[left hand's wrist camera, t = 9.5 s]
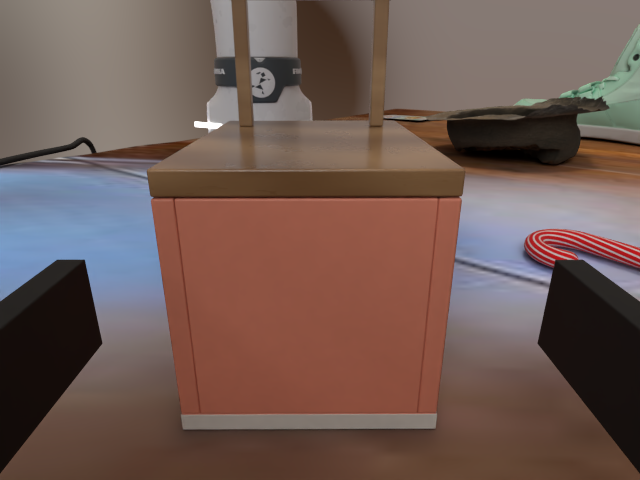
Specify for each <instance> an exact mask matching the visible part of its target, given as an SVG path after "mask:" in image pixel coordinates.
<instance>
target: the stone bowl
mask: <svg viewBox="0 0 640 480" xmlns="http://www.w3.org/2000/svg"><path fill="white" fill-rule="evenodd" d="M602 97H603V96H601V97H599V98H597V99H596V100H595V98H593V99H590V98H586V97H583V98H582V99H581V97H576V96H575V97H574V98H572V97H570V98H568V97H564V98H557V99H549V100H547V101H544V102H537V103H535V104H533V105H531V106H524V105H514V106H505V107H503V106H499V107H487V108H481V109H467V110H457V111H449V112H443V113H439V114H436V115H431V116H427V117H426V120H430V121H439V120H447V131H448V135H449V138H450V140H451V142H452V143H453V145H454V147H455V149H456V150H457V151H461V150H462V149H464V150H465V151H481V150H483V151H490V150H503V149H505V148H508V147H510V148H513V149H520V150H522V151H523V152H524V153H525V154H530V155H532V157H534V158H538V159H539V160H540V161H541V162H542V163H548V164H559V163H561V162H564V161H566V160H568V159H569V158H572V157H574V156H575V154H576V153H577V151H578V148H579V145H580V139H581V135H580V129H579V127H578V125H577V115H578V114H583V113H590V112H597V111H605V110H607V109H610V108H609V106H608V105H606V101H603V100H604V98H603V99H602Z"/></svg>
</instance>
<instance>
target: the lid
mask: <svg viewBox="0 0 640 480" xmlns="http://www.w3.org/2000/svg"><path fill="white" fill-rule="evenodd" d="M231 5H232V20H233V36H234V51H235V67H236V82H237V97H238V113H239V121H228V122H227V123H225V124H223V125H222V126H220V127H218V128H217V129H215V130H213V131H212V132H210V133H208V134H207V135H205V136H203V137H202V138H200V139H198V140H196V141H195V142H193V143H191V144H190V145H188V146H186V147H185V148H183V149H181V150H180V151H178V152H176V153H175V154H173V155H171V156H170V157H168V158H166V159H165V160H163V161H161V162H159V163H158V164H156V165H154V166H153V167H151V168H149V169H148V170H147V176H148V183H149V190H150V195H151V196H152V197H460V196H462V194H463V186H464V178H465V169H464V168H462V167H461V166H459V165H458V164H456V163H455V162H453V161H452V160H451V159H449V158H448V157H446V156H445V155H443V154H442V153H440V152H439V151H438V150H436V149H435V148H433V147H432V146H430V145H429V144H427V143H426V142H425V141H423V140H422V139H420V138H419V137H417V136H416V135H414V134H413V133H411V132H410V131H409V130H407V129H406V128H404V127H403V126H401V125H400V124H398V123H397V122H396V121H383V117H384V96H385V77H386V57H387V37H388V16H389V0H374V2H373V28H372V54H371V80H370V106H369V121H254V115H253V96H252V77H251V59H250V40H249V21H248V2H247V0H231Z"/></svg>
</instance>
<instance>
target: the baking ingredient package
mask: <svg viewBox="0 0 640 480" xmlns="http://www.w3.org/2000/svg"><path fill="white" fill-rule="evenodd" d="M383 118H391V119H406V120H426V117H417V116H401V115H387V116H384V117H383Z"/></svg>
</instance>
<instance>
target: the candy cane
mask: <svg viewBox="0 0 640 480" xmlns="http://www.w3.org/2000/svg"><path fill="white" fill-rule="evenodd" d="M524 247H525V250H526V252H527V254H528V255H529V256H530V257H532V258H533V259H534V260H536V261H538V262H540V263H542V264H544V265H546V266H549V267H552V268H554V264H555V260H579V259H578V257H577V255H576V254H575V253H573V252H571V251H567V250H563V249H559V248H556V247H566V248H572V249H577V250H580V251H584V252H587V253H590V254H594V255H597V256H600V257H603V258H607V259H610V260H613V261H616V262H620V263H623V264H626V265H629V266H633V267H636V268H639V269H640V248H639V247H636V246H632V245H628V244H625V243H621V242H618V241H614V240H610V239H607V238H603V237H599V236H596V235H592V234H588V233H584V232H580V231H574V230H566V229H544V230H539V231H535V232H533V233H531V234H530V235H529V236H528V237H527V238H526V239H525V242H524Z"/></svg>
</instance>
